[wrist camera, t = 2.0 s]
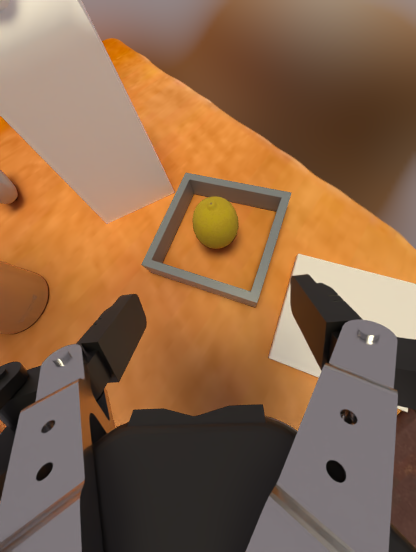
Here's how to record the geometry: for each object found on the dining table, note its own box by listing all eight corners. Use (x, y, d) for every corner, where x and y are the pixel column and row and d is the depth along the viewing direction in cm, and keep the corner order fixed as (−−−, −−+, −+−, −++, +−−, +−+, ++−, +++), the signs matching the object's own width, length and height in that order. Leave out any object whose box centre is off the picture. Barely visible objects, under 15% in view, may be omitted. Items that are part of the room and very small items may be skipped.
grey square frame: (151, 272, 29) (141, 264, 26) (190, 187, 32) (185, 172, 30) (255, 307, 25) (257, 303, 22) (286, 207, 29) (291, 192, 26)
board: (268, 357, 23) (269, 358, 22) (296, 256, 26) (298, 253, 25) (399, 409, 20) (407, 412, 19) (413, 287, 23) (421, 285, 22)
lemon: (225, 216, 30) (220, 173, 22) (246, 245, 28) (248, 209, 20) (193, 235, 30) (176, 198, 22) (211, 265, 28) (200, 236, 20)
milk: (153, 146, 37) (-22, -249, 12) (174, 192, 33) (-20, -256, 8) (92, 174, 37) (-202, -162, 12) (106, 223, 33) (-287, -128, 8)
